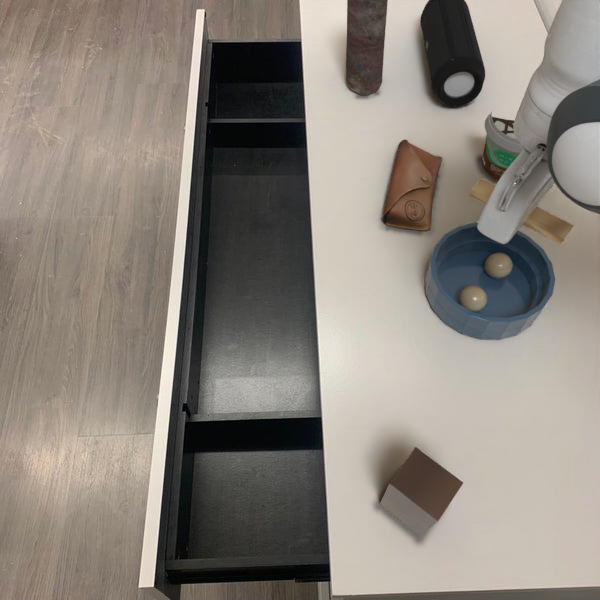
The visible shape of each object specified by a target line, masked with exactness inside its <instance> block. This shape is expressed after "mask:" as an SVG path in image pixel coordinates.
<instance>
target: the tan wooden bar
mask: <svg viewBox="0 0 600 600" xmlns="http://www.w3.org/2000/svg"><path fill="white" fill-rule="evenodd" d="M495 186H496V184H494V183H492V182H491V181H488V180H486V179H484V178H482V177H480V178H479V180H478V181H477V182H476V183H475V184H474V186H473V187H472V188H471V190H470V193H469V197H470V198H471V199H474V200H476V201H478V202H479V203H481V204H483V205H485V206H486V204H487V202H488V200H489V197H490V195H491V193H492V191H493V190H494V188H495ZM522 226H525V227H527V228H528V229H529V230H530V229H531V230H532V231H533V232H536V233H538V234H540V235H542V236H543V237H545V238H547V239H549V240H550V241H553V242H556V243H557V244H559V245H560V246H561V245H562V244H563V242H565V240H566V238H567V237H568V236H569V234H570V233H571V231H572V230H573V228H574V226H575V224H572V223H570V222H568V221H566V220H564V219H562V218H560V217H558V216H556V215H555V214H553V213H551V212H548V211H547V210H544V209H542V208H541V207H539V206H538V205H537V206H536V208H535V209H534V210H533V212H532V213H531V214H530V215H529V217H528V218H527V219H526V221H525V222H524V223H523V225H522Z"/></svg>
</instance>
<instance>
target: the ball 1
mask: <svg viewBox="0 0 600 600" xmlns="http://www.w3.org/2000/svg"><path fill="white" fill-rule="evenodd" d="M459 303H460V305H461V306H463V307H465V308H466V309H468V310H469V311H471V312H478V311H480V310H482V309H483V308H484V307H485V305H486V303H487V295H486V292H485V291H484V290H483V289H482V288H481V287H479V286H475V285H471V286H467V287H465V288H464V289H463V290H462V291H461V293H460V295H459Z"/></svg>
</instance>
